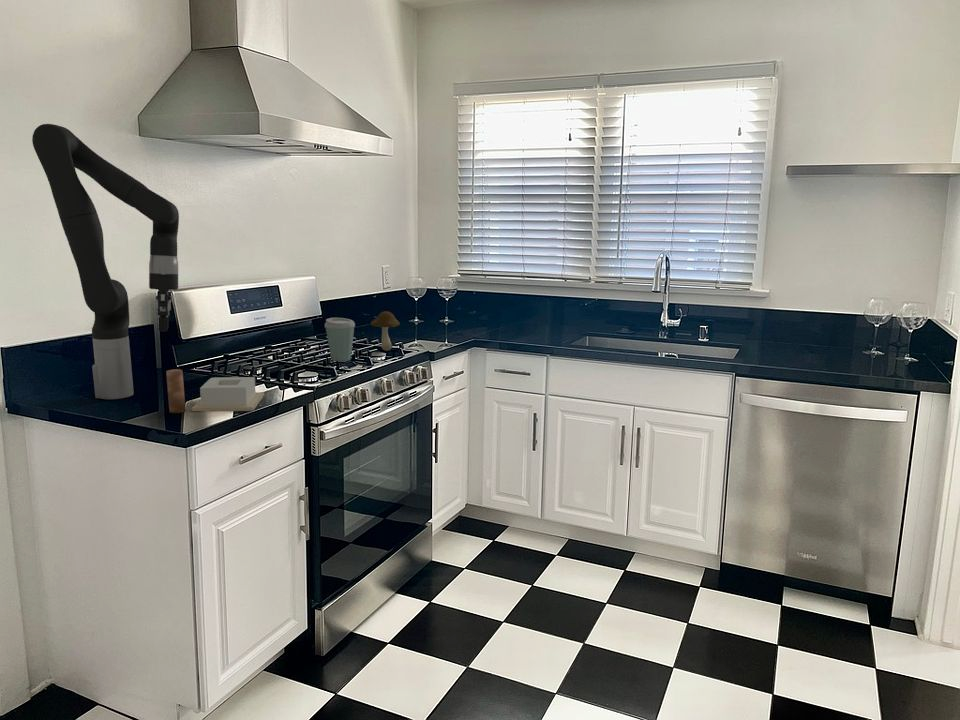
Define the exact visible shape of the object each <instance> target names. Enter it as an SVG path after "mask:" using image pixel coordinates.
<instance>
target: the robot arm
mask: <svg viewBox="0 0 960 720" xmlns="http://www.w3.org/2000/svg"><path fill="white" fill-rule="evenodd" d="M31 142H32V146H33V149H34V152H35V154H36V155H37V158H38V160H39V163H40V165H41V167H42V169H43V172H44V173H45V176H46V178H47V181H48V183H49V187H50V191H51V195H52V197H53V201H54V203H55V207H56V209H57V210H56V211H57V213H58V216H59V220H60V223H61V226H62V229H63V232H64V235H65V238H66V241H67V242H68V246H69V248H70V251H71V255H72V257H73V260H74V263H75V265H76V268H77V272H78V276H79V280H80V281H79V282H80V284H81V290H82V294H83V298H84V301H85V302H84V303H85V305H86V306H87V307H88V308H89V310H91V311H92V312H93V314H94V320H93V321H94V322H93V324H92V326H91V337H92V338H91V339H92V347H93V357H94V364H92V367H91V368H92V377H93V386H94V395H95V397H94V398H95V399H103V400H119V399H124V398H129V397H132V396H133V395H134V393H135V392H134V381H133V380H134V379H133V372H132V360H131V347H130V338H129V326H130V307H129V305H130V304H129V294H128V292H127V288H126V287H125V285H124V284H122V283H121V282H120V281H118V280H116V279H113V278H112V277H111V275H110V273H109V270H108V267H107V265H106V260H105V249H104V247H105V246H104V243H105V242H104V241H105V240H104V232H103V229H102V224H101V221H100V218H99V214H98V212H97V209H96V206H95V204H94V203H93V200H92V198H91V197H90V195H89V194H88V192H87V191H86V188H85V187H84V186H83V184H82V182H81V180H80V178H79V176H78V174H77V171H76V169H77V170H79V171H80V172H82V173H84V174H85V175H87V176H88V177H90V178H91V179H92V180H93V181H95V182H96V183H97V184H98V185H99V186H100V187H101V188H103V189H104V190H105V191H106V192H108V193H109V194H111V195H112V196H114V197H116V198H117V199H118V200H120V201H121V202H123V203H124V204H126V205H127V206H130V207H132V208H134V209H135V210H137V211H138V212H139V213H141V214H142V215H144V216H145V217H146V218H148V219H149V220H151V221H152V235H151V236H150V241H149V243H150V244H149V262H148V264H149V265H148V288H149V289H150V290H158V293H157V295H156V296H155V303H156V311H157V312H156V313H157V317H158V331H159V332H167V331H168V330H169V323H170V322H169V321H170V319H169V318H170V315H171V314H170V313H171V309H172V304H171V303H172V296H171V295H170V292H169V291H170V290H171V291H177V290H179V261H178V233H179V226H180V223H179V222H180V213H179V212H180V211H179V209H178V207H177V205H176V204H174V203H173V202H171V201H169V200H168V199H166V198H164V197H163V196H161V195H160V194H158V193H156V192H154V191H153V190H151V189H149V188H148V186H147V185H145V184H143V183H142V182H141V181H139V180H138V179H137V178H135V177H133V176H132V175H130V174H128V173H127V172H125V171H123V170H122V169H120V168H118V167H117V166H115V165H114V164H113V163H111V162H109V161H108V160H106V159H105V158H104V157H102V156H100V155H99V154H98V153H96V152H95V151H93V150H92V149H91V148H90V147H89V146H88V145H87V144H85V143H84V142H83V141H82V140H81V139H80V138H79V137H77V136H76V135H75V134H74V133H73V132H72V131H71V130H70V129H68V128H67V127H64V126H61V125H58V124H54V123H53V124H52V123H43V124H40V125H38V126H37V127H36V128H35V129H34V131H33V133H32V140H31Z"/></svg>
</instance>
